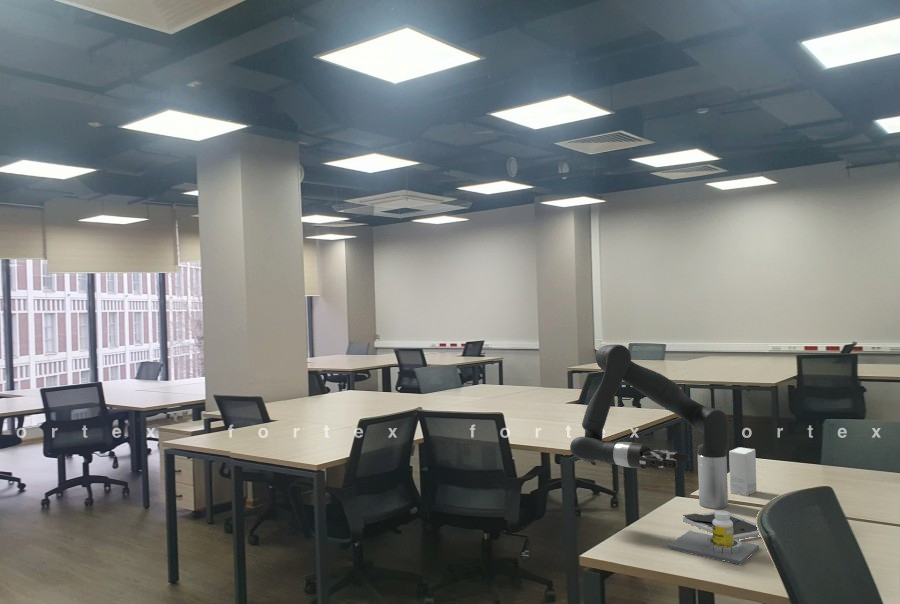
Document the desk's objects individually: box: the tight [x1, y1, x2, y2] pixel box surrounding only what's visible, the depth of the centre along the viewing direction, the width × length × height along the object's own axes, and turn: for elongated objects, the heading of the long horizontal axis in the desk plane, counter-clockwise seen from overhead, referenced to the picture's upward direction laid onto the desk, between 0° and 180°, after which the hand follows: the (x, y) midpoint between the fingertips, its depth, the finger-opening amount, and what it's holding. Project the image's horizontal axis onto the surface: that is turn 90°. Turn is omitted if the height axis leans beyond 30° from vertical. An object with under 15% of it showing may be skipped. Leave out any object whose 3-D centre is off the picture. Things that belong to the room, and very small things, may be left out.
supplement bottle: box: [712, 509, 734, 547], centre depth 185 cm, size 5×5×10 cm
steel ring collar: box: [706, 537, 742, 553], centre depth 185 cm, size 9×9×2 cm
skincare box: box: [728, 446, 757, 497], centre depth 240 cm, size 8×7×16 cm
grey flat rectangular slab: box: [667, 530, 760, 565], centre depth 187 cm, size 15×20×1 cm
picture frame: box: [682, 511, 760, 540], centre depth 204 cm, size 16×3×21 cm
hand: (682, 461), depth 193 cm, fingers open, 8 cm apart
